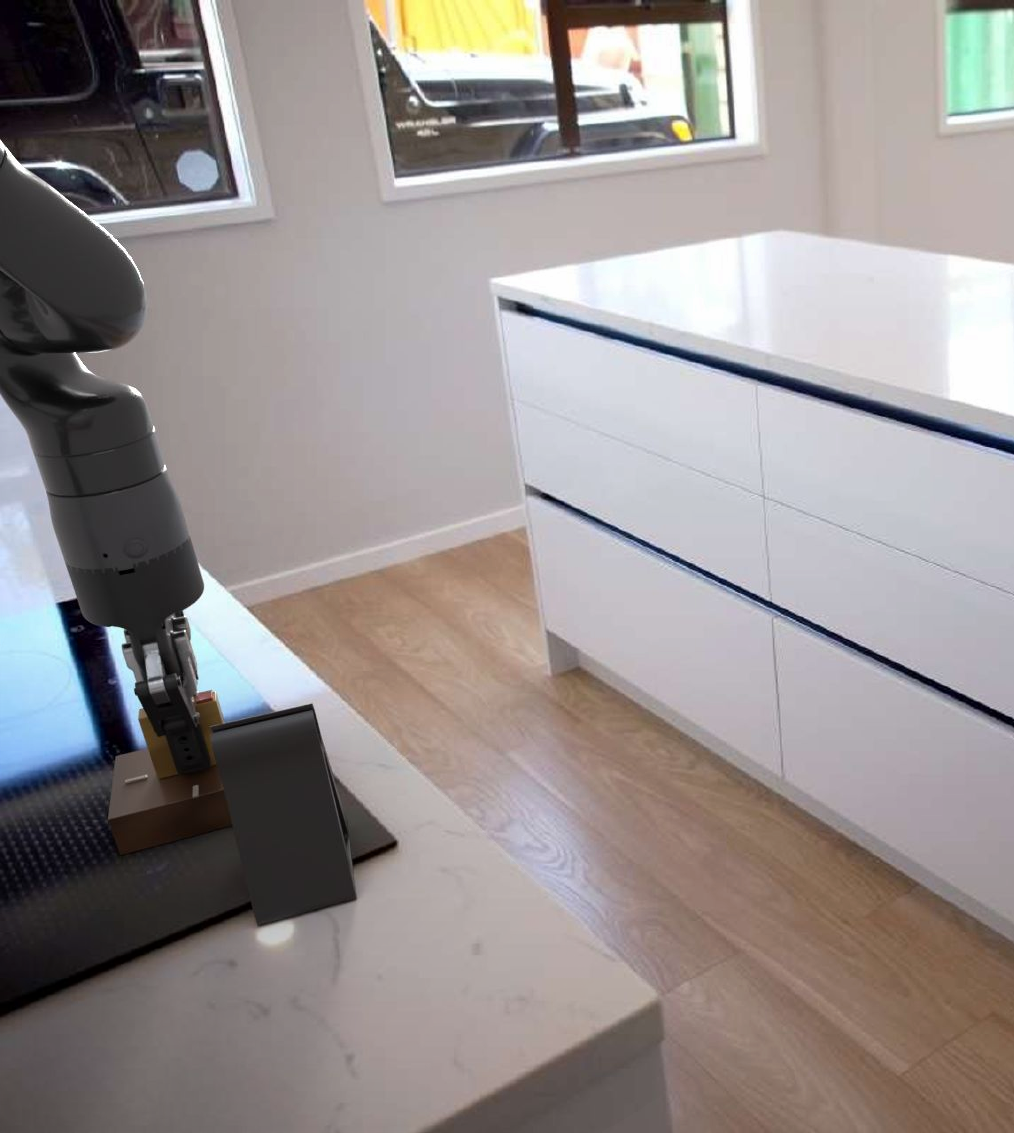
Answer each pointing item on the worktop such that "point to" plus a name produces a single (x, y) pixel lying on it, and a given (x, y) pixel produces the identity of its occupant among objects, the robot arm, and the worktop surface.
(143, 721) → the lock knob
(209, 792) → the plate
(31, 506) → the worktop surface
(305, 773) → the phone stand
